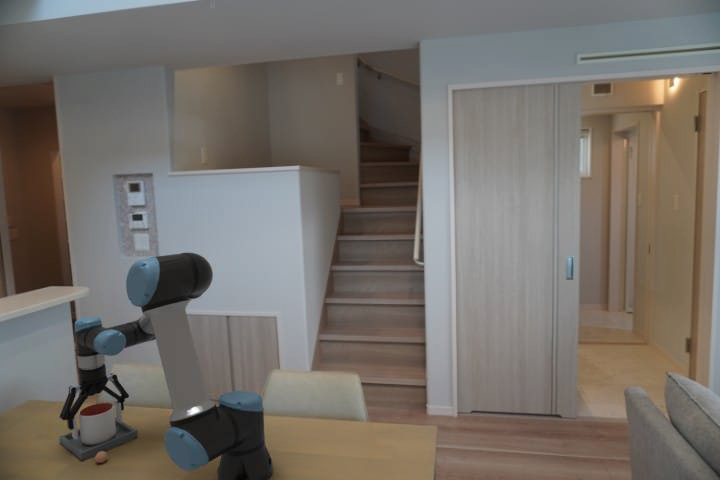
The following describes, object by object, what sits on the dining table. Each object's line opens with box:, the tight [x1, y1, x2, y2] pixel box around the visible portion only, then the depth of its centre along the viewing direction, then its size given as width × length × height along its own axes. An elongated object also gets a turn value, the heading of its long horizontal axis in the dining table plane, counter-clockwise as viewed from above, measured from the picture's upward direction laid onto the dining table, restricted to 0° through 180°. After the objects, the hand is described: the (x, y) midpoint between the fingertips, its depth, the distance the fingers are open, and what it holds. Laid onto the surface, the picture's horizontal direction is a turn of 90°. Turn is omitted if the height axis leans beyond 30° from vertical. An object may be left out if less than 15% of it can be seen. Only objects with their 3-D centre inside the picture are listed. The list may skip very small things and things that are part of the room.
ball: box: [94, 451, 108, 464], centre depth 143 cm, size 3×3×3 cm
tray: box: [58, 417, 138, 462], centre depth 156 cm, size 17×17×2 cm
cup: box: [78, 402, 116, 445], centre depth 156 cm, size 10×10×10 cm
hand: (98, 429), depth 156 cm, fingers open, 13 cm apart
